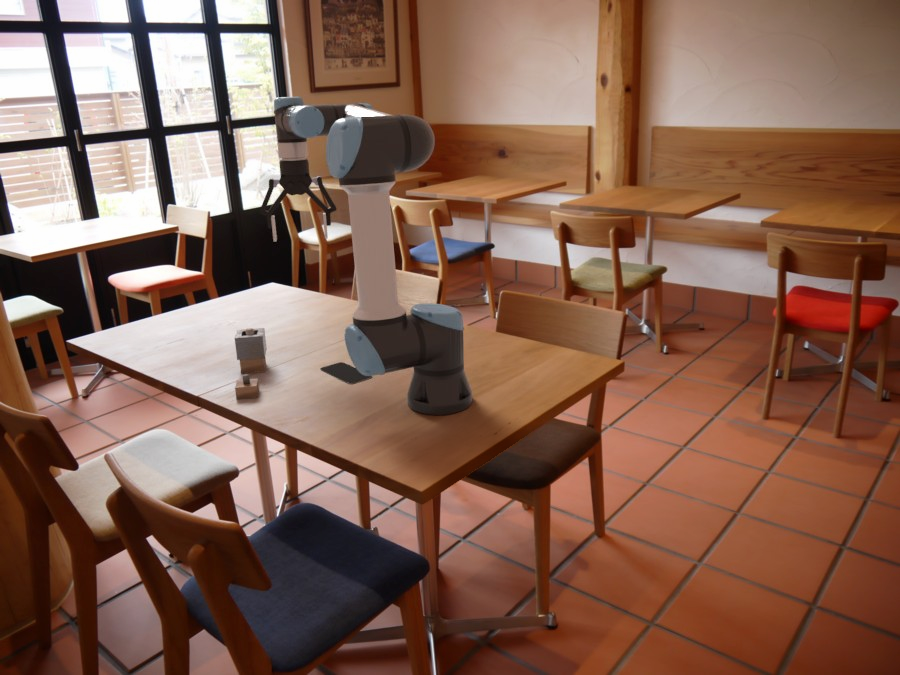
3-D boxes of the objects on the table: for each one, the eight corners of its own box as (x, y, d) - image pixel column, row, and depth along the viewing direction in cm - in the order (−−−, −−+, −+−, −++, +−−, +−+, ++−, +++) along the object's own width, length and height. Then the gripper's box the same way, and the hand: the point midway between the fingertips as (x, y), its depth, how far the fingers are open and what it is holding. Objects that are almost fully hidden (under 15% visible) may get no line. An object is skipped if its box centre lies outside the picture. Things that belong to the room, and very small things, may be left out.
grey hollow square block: (264, 357, 194) (262, 336, 192) (237, 360, 193) (234, 338, 191) (266, 349, 200) (264, 327, 198) (239, 351, 199) (237, 329, 197)
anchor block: (257, 397, 179) (255, 378, 177) (236, 399, 178) (234, 380, 177) (259, 389, 184) (257, 370, 182) (238, 391, 183) (236, 372, 181)
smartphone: (341, 361, 201) (373, 375, 190) (342, 363, 201) (374, 378, 190) (318, 368, 196) (349, 383, 185) (318, 370, 196) (350, 386, 185)
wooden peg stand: (264, 371, 195) (260, 331, 192) (241, 373, 194) (236, 333, 191) (266, 363, 201) (261, 325, 197) (243, 365, 200) (238, 326, 197)
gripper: (341, 155, 200) (346, 234, 206) (245, 159, 196) (254, 239, 203) (342, 158, 193) (347, 239, 199) (243, 162, 189) (252, 244, 196)
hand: (300, 239), depth 201 cm, fingers open, 13 cm apart
